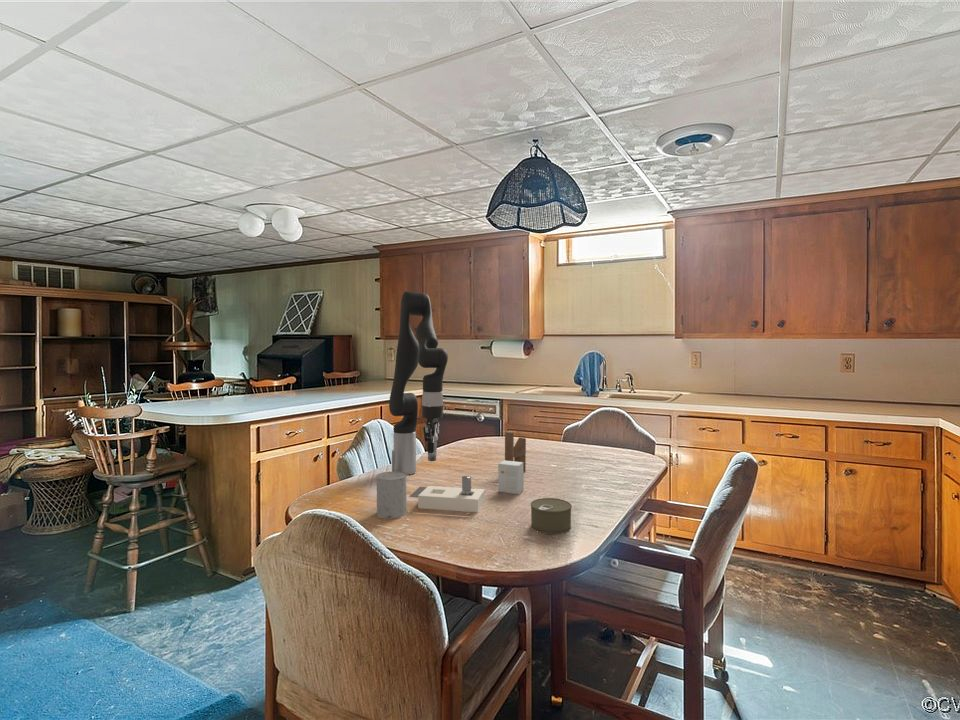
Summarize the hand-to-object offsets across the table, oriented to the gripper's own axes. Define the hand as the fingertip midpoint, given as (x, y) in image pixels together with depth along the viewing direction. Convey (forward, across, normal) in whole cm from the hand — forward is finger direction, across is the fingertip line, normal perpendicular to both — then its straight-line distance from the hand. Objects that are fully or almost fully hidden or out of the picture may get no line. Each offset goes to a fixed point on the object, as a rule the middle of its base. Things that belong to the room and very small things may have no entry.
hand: (432, 451), depth 178 cm
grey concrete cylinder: (+16, +22, -6) cm, 28 cm away
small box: (+15, -9, +28) cm, 33 cm away
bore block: (+15, +11, +11) cm, 21 cm away
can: (+15, +23, +44) cm, 52 cm away
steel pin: (+3, 0, 0) cm, 3 cm away
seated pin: (+15, +11, +16) cm, 24 cm away
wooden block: (+16, -33, +25) cm, 44 cm away
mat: (+15, 0, +1) cm, 15 cm away
